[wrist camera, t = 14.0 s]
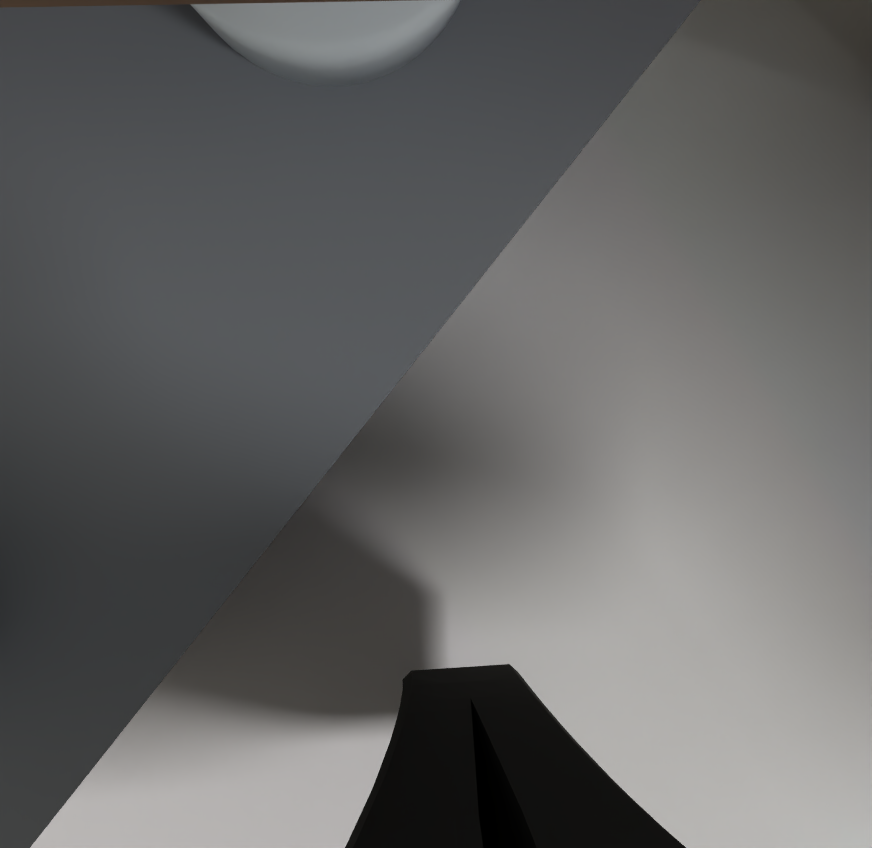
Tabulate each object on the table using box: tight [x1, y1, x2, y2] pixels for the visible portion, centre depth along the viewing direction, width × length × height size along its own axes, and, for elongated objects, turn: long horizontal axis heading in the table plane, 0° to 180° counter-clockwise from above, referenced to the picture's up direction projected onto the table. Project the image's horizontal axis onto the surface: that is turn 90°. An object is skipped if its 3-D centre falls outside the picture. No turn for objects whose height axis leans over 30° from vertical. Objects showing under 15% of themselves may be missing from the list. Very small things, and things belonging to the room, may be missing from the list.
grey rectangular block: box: [0, 0, 700, 848], centre depth 7 cm, size 4×10×6 cm, turn 141°
